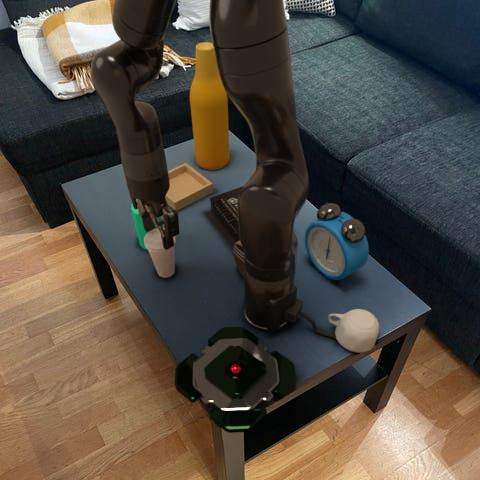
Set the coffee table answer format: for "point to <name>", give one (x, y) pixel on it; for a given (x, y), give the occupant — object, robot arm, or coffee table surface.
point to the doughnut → (239, 256)
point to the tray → (186, 187)
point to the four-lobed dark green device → (235, 378)
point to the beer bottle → (209, 111)
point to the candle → (140, 226)
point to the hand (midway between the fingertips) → (159, 238)
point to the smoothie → (160, 253)
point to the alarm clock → (336, 242)
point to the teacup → (356, 330)
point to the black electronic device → (226, 215)
